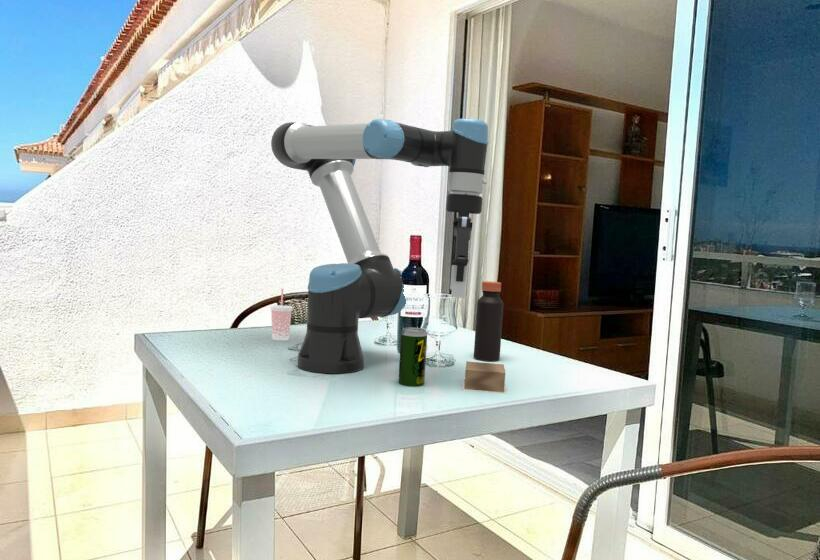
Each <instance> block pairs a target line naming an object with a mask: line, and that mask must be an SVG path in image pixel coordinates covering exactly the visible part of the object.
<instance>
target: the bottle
mask: <svg viewBox="0 0 820 560" xmlns="http://www.w3.org/2000/svg"><path fill="white" fill-rule="evenodd" d="M501 291H502V282H499V281H488V280H487V281H486V280H485V281H482V282H481V292H482V295H481V296H480V297H479V299H478V300H477V303H476V313H475V314H476V317H475V329H474V330H475V332H474V345H473V347H474V348H473V358H474V359H476V360H478V361H482V362H496V361H499V360H500V358H501V348H502V347H501V345H502V333H503V331H502V329H503V316H504V301H503V299H501V297H500V294H501Z"/></svg>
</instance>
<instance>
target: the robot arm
mask: <svg viewBox="0 0 820 560" xmlns="http://www.w3.org/2000/svg"><path fill="white" fill-rule="evenodd" d="M488 135H489V126H488V124H487V122H485V121H484V120H481V119H478V118H477V119H475V118H459V119H455V120H454V121H453V124H452V128H451V130H446V131H445V130H444V131H439V130H437V131H435V130H429V129H426V128H421V127H416V126H413V125H408V124H404V123H400V122H396V121H394V120H392V119H381V118H376V119H375V118H374V119H373V120H371V121H370V122H369V123H368V122H367V123H351V124H333V125H330V124H329V125H310V124H307V123H304V122H297V121H294V122H292V121H291V122H285V123H283V124H281V125H280V126H278V127H277V128H276V129H275V130H274V132H273V133H272V136H271V140H270V141H271V142H270V144H271V150H272V154H273V155H274V157H275V159H276V160H277V161H278V162H279V163H280V164H281V165H283V166H285V167H288V168H290V169H293V170H299V171H306V172H307V173H308V175H309V178H310V180H311V182H312V184H313V185H314V186H316V187H319V189H320V191H321V193H322V197H323V199H324V202H325V205H326V207H327V210H328V214H329V215H330V218H331V221H332V223H333V227H334V230H335V231H336V234H337V237H338V240H339V243H340V246H341V249H342V250H343V253H344V257H345V259H346V263H344V262H343V263H341V262H340V263H330V264H329V263H327V264H321V265H317V266H316V267H313V268H312V269H311V270H310V273H309V276H308V284H307V291H308V293H307V294H308V295H307V296H308V297H307V314H306V315H307V316H306V332H305V335H304V338H303V341H302V343H301V346H300V349H299V351H298V355H297V363H296V364H297V367H298V368H300V369H302V370H305V371H308V372H313V373H323V374H345V373H346V374H347V373H354V372H357V371H360V370H362V369H363V368H364V365H365V364H364V363H365V357H364V352H363V349H362V345H361V341H360V339H359V338H360V337H359V333H358V331H359V319H367V318H368V319H370V318H386V317H388V316H392V315H397V314H398V313H400V312H401V311H402V310H403V309H404V308H405V307H406V305H407V303H406V299H405V296H404V294H403V292H404V289H403V288H404V284H403V283H402V281H401V278H402V277H401V274H402V272H404V271H402V270H401V269H398V268H394V267H393V264H392V261H391V259H390V257H389V255H387V254H385V253H382V252H381V251H380V247H379V245H378V242H377V240H376V238H375V234H374V232H373V229H372V227H371V224H370V222H369V220H368V216H367V214H366V212H365V211H366V210H365V209H364V206H363V204H362V201H361V198H360V196H359V194H358V191H357V188H356V185H355V183H354V180H353V178H352V174H353V173H354V167H355V165H356V162H357V161H356V160H374V159H375V160H390V161H391V160H392V161H393V160H394V161H400V162H405V163H410V164H411V165H413V166H415V167H422V168H429V167H448V168H449V171H448V180H447V191H448V192H449V193H448V194H447V196H446V206H445V207H446V208H445V210H446V212H448V213H457V216H456V217H455V221H453V222H452V223H453V224H452V230H453V233H452V234H453V235H452V236H453V237H452V238H453V239H454V240H453V250H452V251H453V252H452V254H451V255H452V259H451V262H450V266H451V271H450V272H451V273H450V286H449V290H450V291H451V293H450V294H451V295H450V297H451V298H459V299H465V296H466V285H467V272H468V264H469V250H470V249H469V245H470V240H471V237H472V236H471V235H472V230H473V222H472V218H471V217H470V214H473V215H480V214H481V213H482V212H483V211H482V210H483V197H482V196H481V195H482V194H483V193H484V185H487V183H488V182H487V181H488V180H487V179H485V175H486V174H485V172H486V171H485V169H486V159H487V153H488V144H489V139H488V138H489V136H488ZM400 277H401V278H400ZM405 304H406V305H405Z"/></svg>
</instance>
